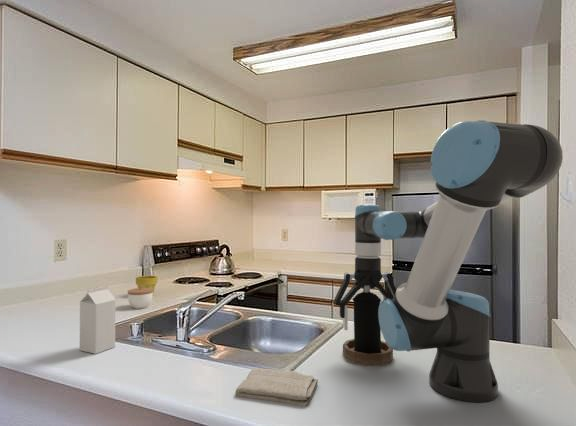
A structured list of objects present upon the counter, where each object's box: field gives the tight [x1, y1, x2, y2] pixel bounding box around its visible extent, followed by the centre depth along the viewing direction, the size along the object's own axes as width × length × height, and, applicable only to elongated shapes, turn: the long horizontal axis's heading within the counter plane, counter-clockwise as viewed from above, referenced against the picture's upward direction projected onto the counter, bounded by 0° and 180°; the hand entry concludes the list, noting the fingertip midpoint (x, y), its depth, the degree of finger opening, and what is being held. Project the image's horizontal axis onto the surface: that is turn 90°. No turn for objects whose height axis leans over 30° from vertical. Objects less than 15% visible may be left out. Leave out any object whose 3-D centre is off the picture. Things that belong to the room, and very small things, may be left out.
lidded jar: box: [127, 286, 154, 310], centre depth 172 cm, size 11×11×9 cm
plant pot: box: [135, 275, 158, 295], centre depth 195 cm, size 10×10×10 cm
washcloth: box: [235, 367, 319, 407], centre depth 91 cm, size 12×18×3 cm, turn 76°
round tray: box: [342, 338, 394, 367], centre depth 113 cm, size 14×14×3 cm
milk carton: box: [79, 285, 116, 355], centre depth 118 cm, size 7×7×19 cm
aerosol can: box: [352, 285, 382, 353], centre depth 113 cm, size 8×8×20 cm
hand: (367, 328), depth 113 cm, fingers open, 13 cm apart
